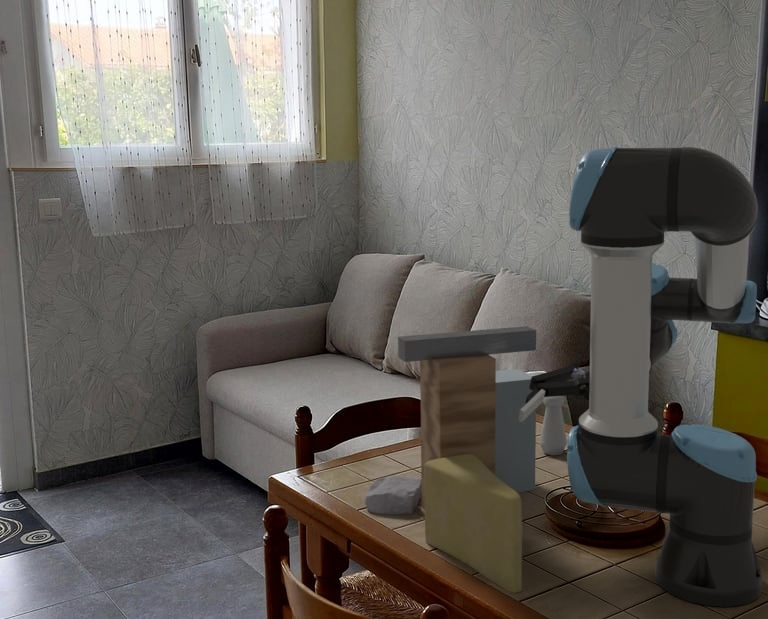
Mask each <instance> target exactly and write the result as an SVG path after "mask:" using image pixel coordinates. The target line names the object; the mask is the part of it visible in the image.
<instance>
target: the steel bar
mask: <svg viewBox="0 0 768 619" xmlns="http://www.w3.org/2000/svg"><path fill="white" fill-rule="evenodd" d="M397 344H398V346H397V350H398V351H397V352H398V353H397V354H398V359H400V360H401V361H403V362H404V363H409V362H420V361H423V360H434V359H445V358H456V357H467V356H478V355H498V354H511V353H520V352H521V353H522V352H523V353H524V352H530V351H531V352H532V351H537V329H535V328H532V327H530V326H527V325H525V326H514V327H513V326H511V327H503V328H500V327H499V328H488V329H476V330H464V331H453V332H452V331H451V332H441V333H439V332H438V333H426V334H415V335H414V334H413V335H405V336H404V335H403V336H397Z"/></svg>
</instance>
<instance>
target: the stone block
mask: <svg viewBox="0 0 768 619" xmlns="http://www.w3.org/2000/svg"><path fill="white" fill-rule="evenodd" d="M364 496H365V498H364V499H365V500H364V503H365V507H366V509H367V510H368V512H370V513H375V514H381V515H382V514H383V515H384V514H388V515H391V514H395V515H413V514H414V512H415V510H416V508H417V507H418V506H417V505H418V503H419V502H420V501H419V500H420V499H421V498H422V481H421V477H420V478H418V477H413V476H407V475H400V474H399V475H395V474H394V475H390V476H384V477H380V478H378V479H375V480H374V483H372V484H371V485H370V486H369V487H368V489H367V492H366V493H365V495H364Z"/></svg>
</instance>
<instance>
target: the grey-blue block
mask: <svg viewBox="0 0 768 619" xmlns="http://www.w3.org/2000/svg"><path fill="white" fill-rule="evenodd" d="M531 377H532V375H531V374H528V373H527V372H525V371H523V370H521V369H519V368H515V369H514V368H513V369H504V370H503V369H502V370H496V409H495V476H496V477H497V478H499V479H500V480H501V481H502V482H504V483H505V484H506V485H508V486H509V487H511V488H512V489H514V490H515V491H516V492H517V493H522V492H529V491H535V490H536V446H537V444H536V440H537V436H536V435H537V434H536V433H537V408H536V409H535V410H534V411H533V412H532V413H531V414H530V415H529V416H528V417H527V418H526V419H525V420H524V421H523V422H520V421H519V420H518V418H519V413H520V409H521V408H523V407H524V406H525V405H526V404H525V403H526V398H527V396H528V395H529V394H530V393H531V392H532V391H533V390H530V388H529V386H530V382H531Z"/></svg>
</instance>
